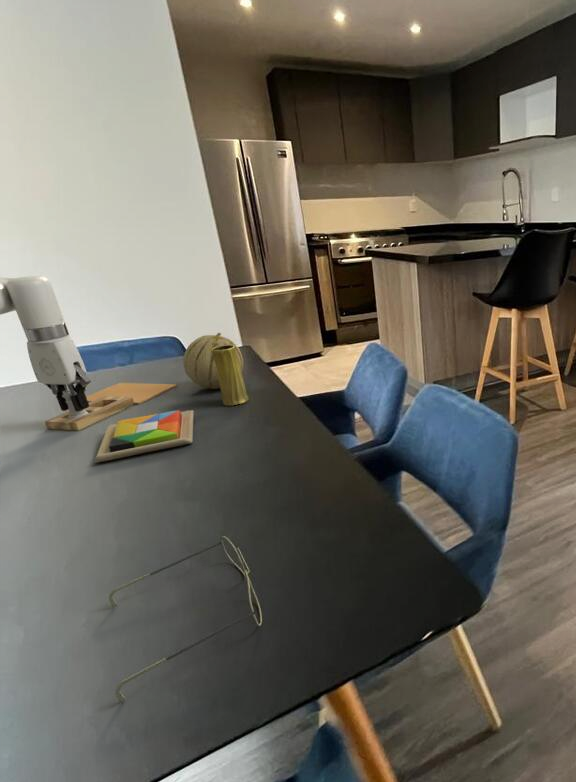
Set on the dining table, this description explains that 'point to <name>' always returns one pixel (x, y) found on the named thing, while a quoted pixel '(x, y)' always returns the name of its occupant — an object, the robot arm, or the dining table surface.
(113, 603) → the eyeglasses
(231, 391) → the vase
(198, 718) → the dining table surface
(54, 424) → the holder
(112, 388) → the cork mat
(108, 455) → the wooden puzzle
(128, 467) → the dining table surface
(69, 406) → the rook chess piece
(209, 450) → the dining table surface
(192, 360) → the cantaloupe
